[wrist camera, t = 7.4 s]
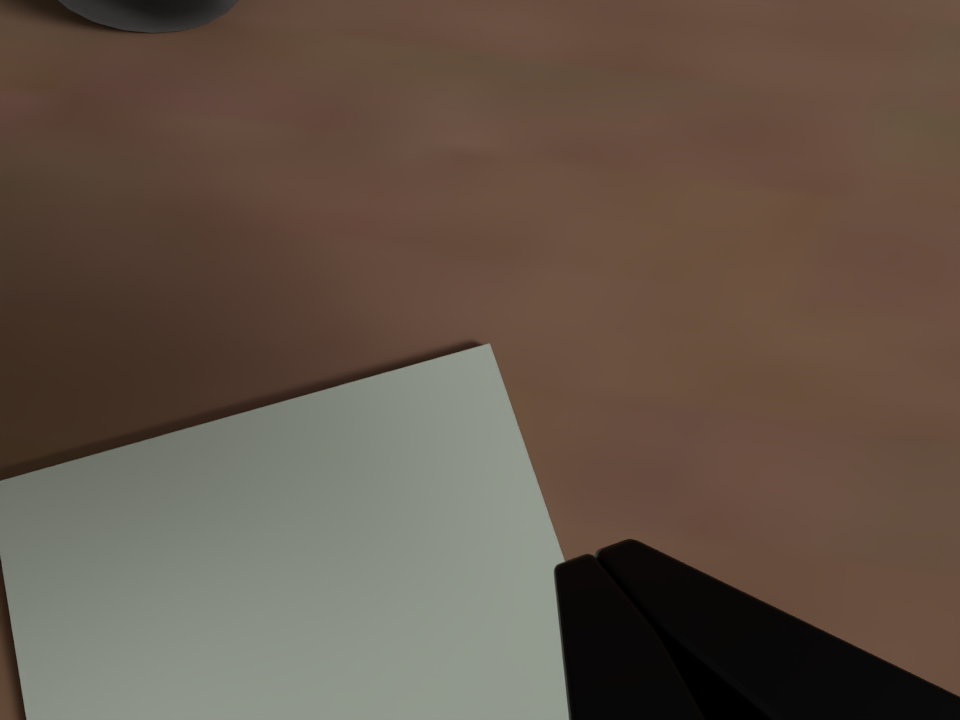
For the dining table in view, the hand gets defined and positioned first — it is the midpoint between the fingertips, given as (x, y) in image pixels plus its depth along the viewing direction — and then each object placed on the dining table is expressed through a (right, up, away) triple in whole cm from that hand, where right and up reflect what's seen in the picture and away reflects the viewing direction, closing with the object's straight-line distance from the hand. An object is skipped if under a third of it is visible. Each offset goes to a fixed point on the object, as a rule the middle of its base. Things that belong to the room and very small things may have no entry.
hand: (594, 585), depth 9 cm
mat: (-4, -4, +9) cm, 11 cm away
